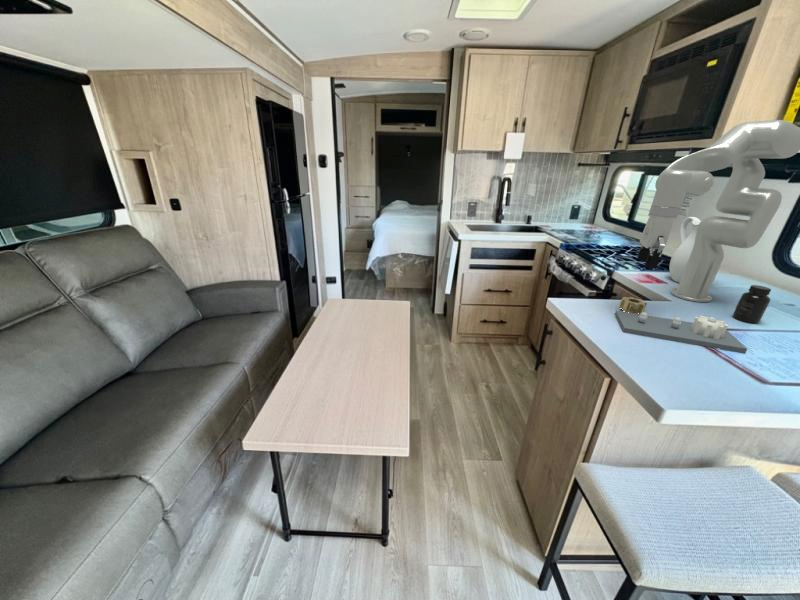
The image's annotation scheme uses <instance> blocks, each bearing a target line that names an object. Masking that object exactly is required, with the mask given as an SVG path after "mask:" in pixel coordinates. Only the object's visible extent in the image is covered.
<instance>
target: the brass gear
mask: <svg viewBox="0 0 800 600" xmlns="http://www.w3.org/2000/svg"><path fill="white" fill-rule="evenodd" d="M619 308H622V309H623V311H625V312H629V313H634V314H638V313H639V314H641V313H642V312H645V310H646V308H647V301H644V300H643V299H642V298H636V297H633V296H630V297H629V296H628V297H627V296H623V297H622V298H621V299H620V303H619V306H618V309H619ZM623 311H622V312H623Z"/></svg>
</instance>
